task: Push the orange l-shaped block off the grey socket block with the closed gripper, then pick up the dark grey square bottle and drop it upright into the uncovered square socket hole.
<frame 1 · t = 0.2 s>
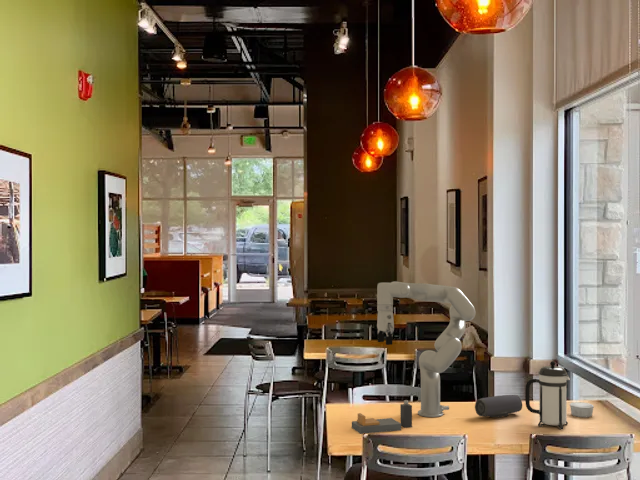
hand: (384, 343, 347), 37 cm above the table, tool pointing down, fingers open, 9 cm apart
coffee press: (549, 426, 333), on the table
ramekin: (581, 415, 353), on the table
orange l-shaped block: (368, 418, 326), point 5 cm above the table, slide at 0.0 cm
dark grey square bottle: (406, 426, 332), on the table
bluetooth speaker: (498, 416, 351), on the table
socket block: (376, 429, 328), on the table
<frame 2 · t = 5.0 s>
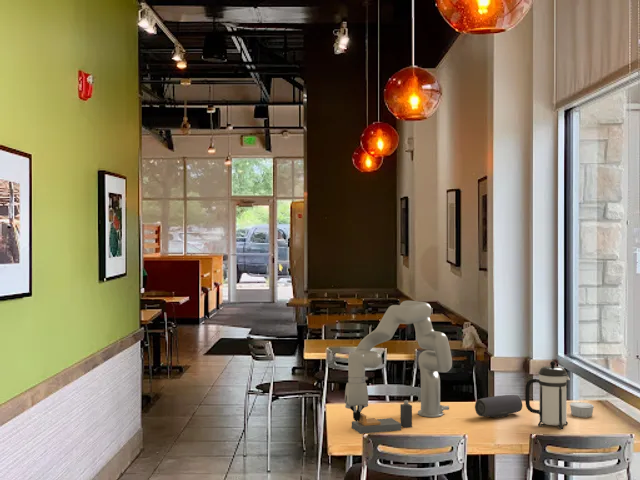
hand: (356, 420, 325), 5 cm above the table, tool pointing down, fingers closed
orange l-shaped block: (369, 418, 327), point 5 cm above the table, slide at 0.5 cm, touching gripper
everything else where it was.
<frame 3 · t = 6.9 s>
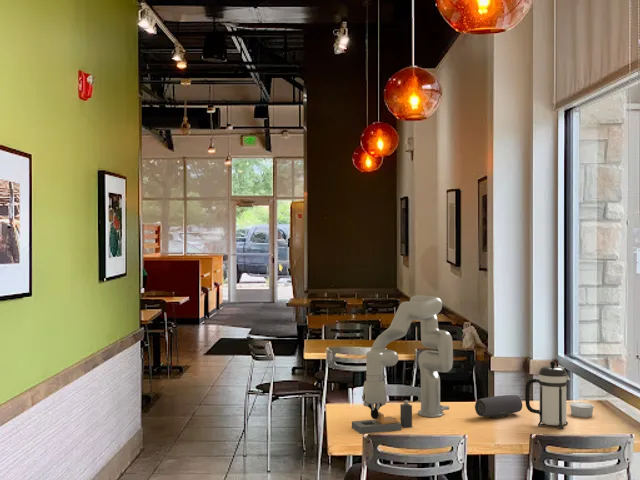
hand: (374, 418, 327), 5 cm above the table, tool pointing down, fingers closed
orange l-shaped block: (386, 417, 329), point 5 cm above the table, slide at 9.1 cm, touching gripper
everything else where it was.
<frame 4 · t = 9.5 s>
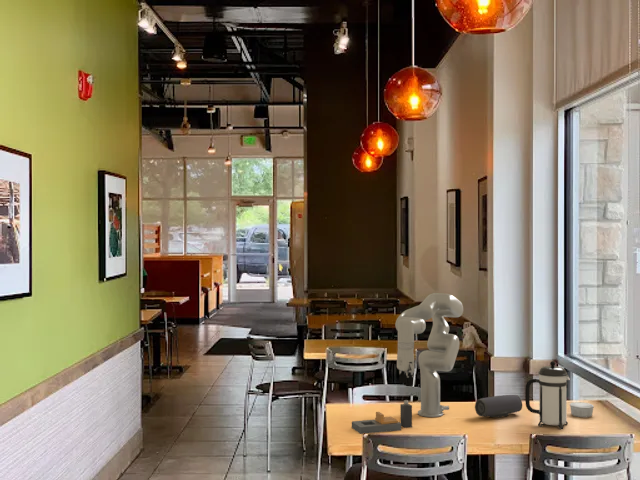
hand: (406, 384, 332), 20 cm above the table, tool pointing down, fingers open, 6 cm apart
orange l-shaped block: (386, 417, 329), point 5 cm above the table, slide at 9.0 cm
everything else where it was.
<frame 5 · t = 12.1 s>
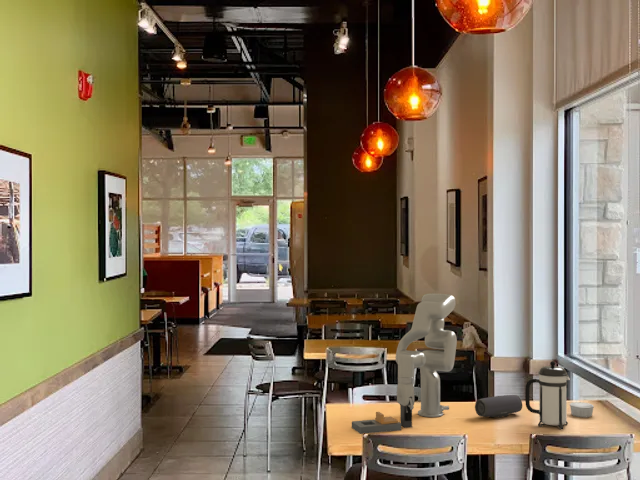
hand: (406, 419, 332), 3 cm above the table, tool pointing down, fingers closed on dark grey square bottle, 4 cm apart
dark grey square bottle: (406, 426, 332), on the table, touching gripper
everything else where it was.
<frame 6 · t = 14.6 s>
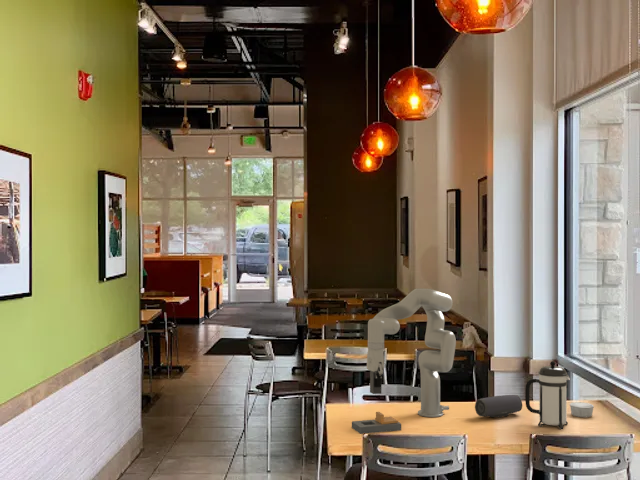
hand: (375, 385, 327), 20 cm above the table, tool pointing down, fingers closed on dark grey square bottle, 4 cm apart
dark grey square bottle: (375, 392, 327), point 17 cm above the table, touching gripper
everything else where it was.
when the fingers open (5 cm above the table, at t = 17.3 s): dark grey square bottle drops 1 cm, resting in socket block.
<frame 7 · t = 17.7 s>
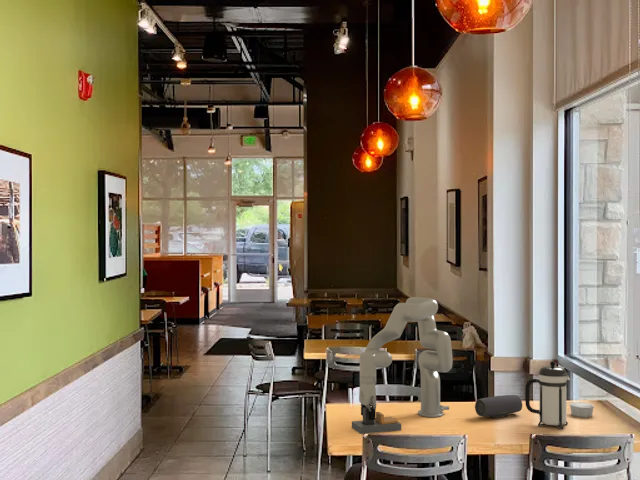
hand: (368, 417, 326), 6 cm above the table, tool pointing down, fingers open, 8 cm apart
dark grey square bottle: (368, 429, 326), resting in socket block
everything else where it was.
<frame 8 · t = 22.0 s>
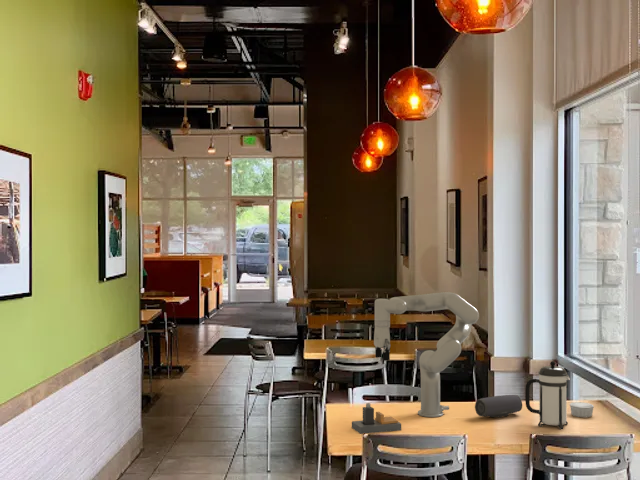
hand: (382, 358, 351), 28 cm above the table, tool pointing down, fingers open, 9 cm apart
nothing on the table moved.
at the end: dark grey square bottle 0.0 cm from the target spot on the socket block, point 0.0 cm above the socket block's base; orange l-shaped block slide at 9.0 cm; dark grey square bottle tilted 0° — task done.
